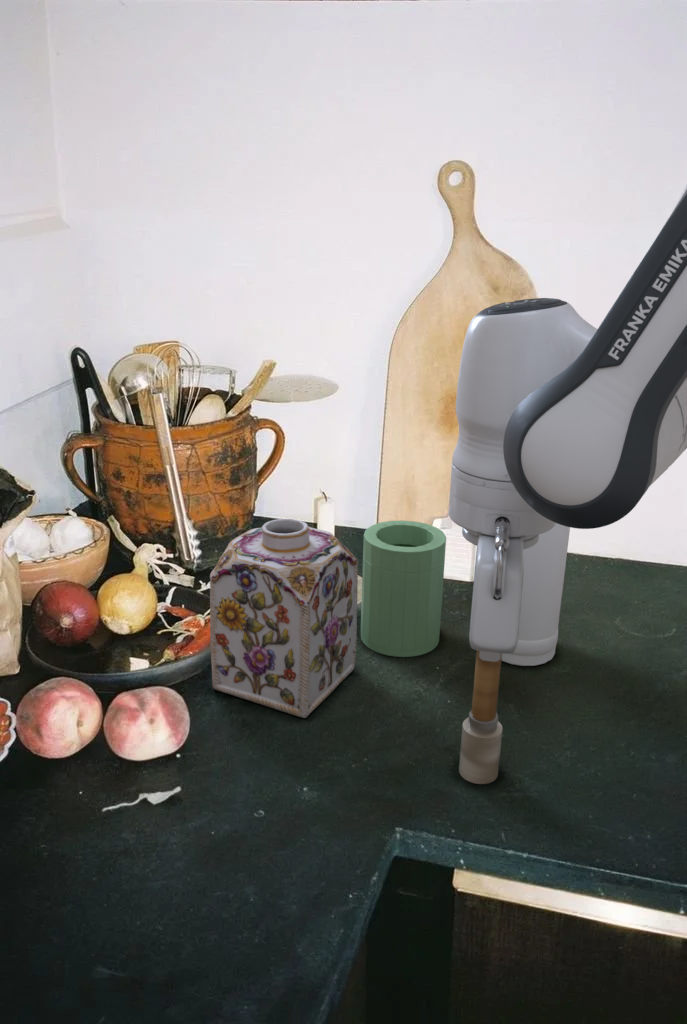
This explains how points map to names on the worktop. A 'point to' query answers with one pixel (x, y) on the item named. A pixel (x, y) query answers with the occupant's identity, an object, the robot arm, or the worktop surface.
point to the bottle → (541, 598)
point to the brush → (482, 727)
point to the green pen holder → (402, 587)
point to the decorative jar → (283, 616)
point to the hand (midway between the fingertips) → (490, 647)
